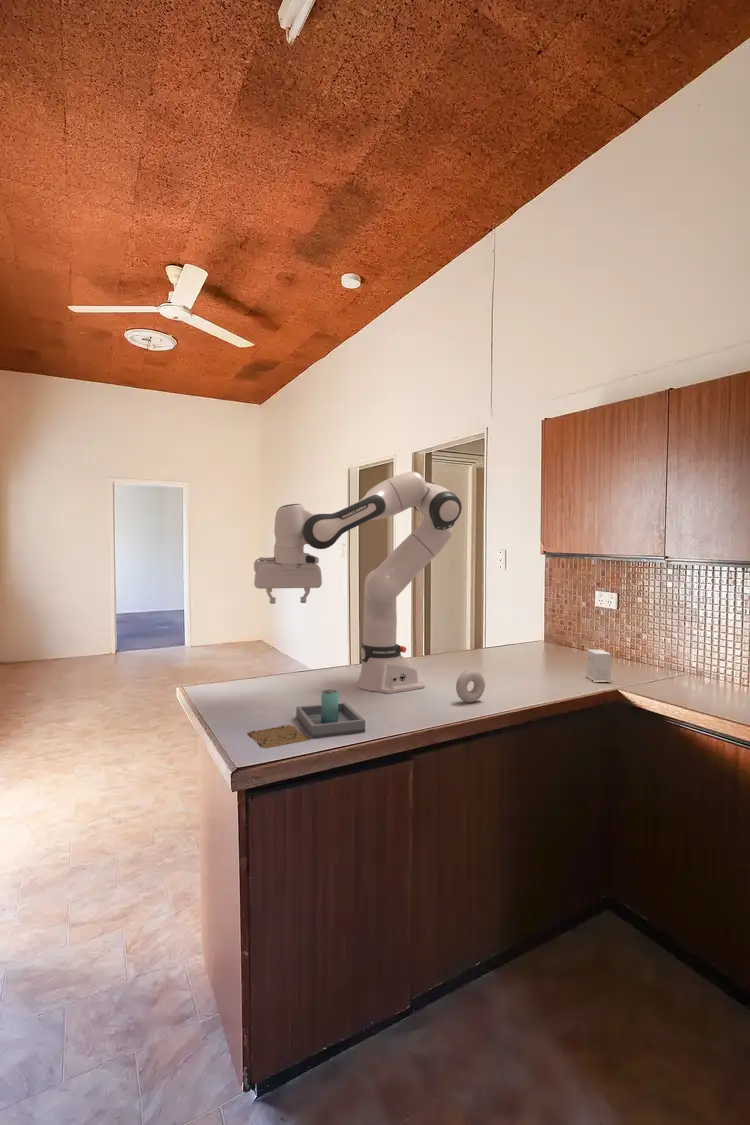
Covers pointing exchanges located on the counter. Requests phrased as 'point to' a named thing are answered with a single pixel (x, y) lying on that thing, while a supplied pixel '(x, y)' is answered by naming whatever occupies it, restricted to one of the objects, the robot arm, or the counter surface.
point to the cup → (329, 706)
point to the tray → (345, 725)
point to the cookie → (278, 736)
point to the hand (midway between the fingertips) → (288, 603)
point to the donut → (463, 682)
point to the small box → (599, 664)
